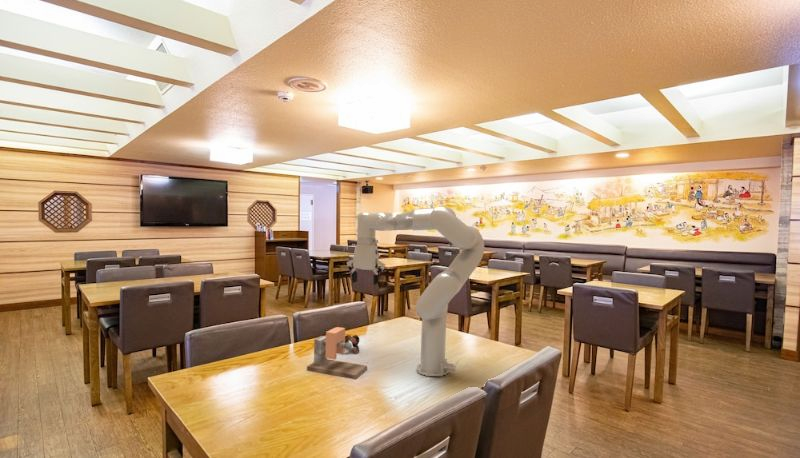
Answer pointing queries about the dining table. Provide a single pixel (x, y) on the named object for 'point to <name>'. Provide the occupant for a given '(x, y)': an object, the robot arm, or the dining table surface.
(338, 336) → the saddle clip
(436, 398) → the dining table surface
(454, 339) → the dining table surface
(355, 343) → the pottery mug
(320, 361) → the hook stand
